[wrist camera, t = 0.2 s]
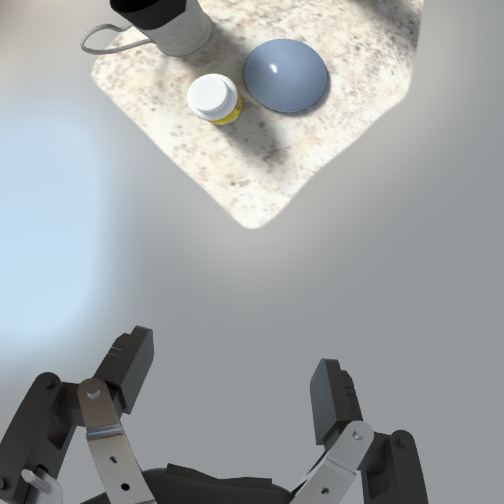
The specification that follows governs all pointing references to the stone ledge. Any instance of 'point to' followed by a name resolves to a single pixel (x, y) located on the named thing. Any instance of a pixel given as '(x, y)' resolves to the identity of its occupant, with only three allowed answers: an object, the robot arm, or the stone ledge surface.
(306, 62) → the coaster
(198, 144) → the stone ledge surface
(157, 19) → the tall grey black mug
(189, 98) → the supplement bottle
